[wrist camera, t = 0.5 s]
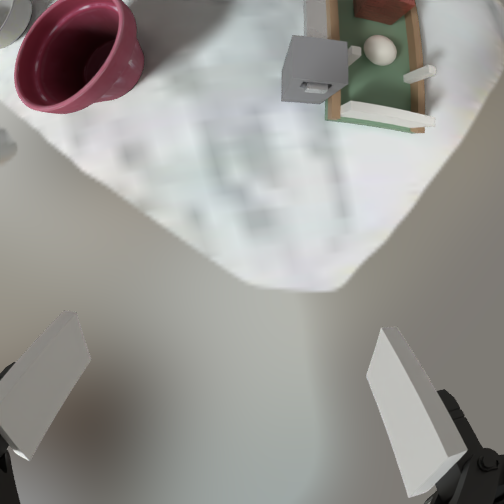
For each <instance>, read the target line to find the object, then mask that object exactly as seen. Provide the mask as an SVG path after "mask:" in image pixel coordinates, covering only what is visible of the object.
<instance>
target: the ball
mask: <svg viewBox="0 0 504 504" xmlns="http://www.w3.org/2000/svg"><path fill="white" fill-rule="evenodd" d="M364 53H365V55H366V57H367V58H368V59H369V60H370V61H371V62H372V63H374V64H376V65H380V66H385V65H389V64H391V63H392V62H393V61H394V60H395V58H396V55H397V50H396V47H395V45H394V43H393V42H392V41H391V40H390V39H389V38H387V37H385V36H382V35H373V36H371V37H369V38H368V39H367V40H366V41H365V43H364Z"/></svg>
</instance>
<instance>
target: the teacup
mask: <svg viewBox="0 0 504 504" xmlns="http://www.w3.org/2000/svg"><path fill="white" fill-rule="evenodd" d="M31 14H32V3H31V1H30V0H0V49H1V48H5V47H7V46H9V45H11V44H12V43H13V42H15V41H16V40H17V39H18V38H19V37H20V35H21V34H22V33H23V32H24V31H25V29H26V27H27V26H28V24H29V21H30V18H31Z"/></svg>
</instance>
